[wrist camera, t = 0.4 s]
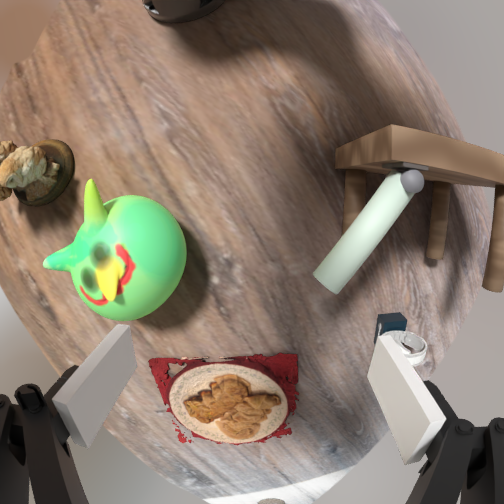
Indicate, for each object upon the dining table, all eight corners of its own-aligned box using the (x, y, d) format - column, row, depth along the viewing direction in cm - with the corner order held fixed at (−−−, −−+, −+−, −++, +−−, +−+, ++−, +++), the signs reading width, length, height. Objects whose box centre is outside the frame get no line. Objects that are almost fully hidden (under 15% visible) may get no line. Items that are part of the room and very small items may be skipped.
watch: (367, 315, 45) (391, 349, 35) (408, 311, 45) (438, 341, 34) (363, 343, 47) (383, 381, 36) (403, 339, 46) (429, 372, 36)
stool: (335, 148, 39) (391, 124, 20) (445, 165, 39) (531, 166, 19) (330, 249, 43) (377, 300, 24) (438, 253, 42) (515, 294, 23)
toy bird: (149, 317, 47) (111, 363, 33) (81, 249, 45) (27, 273, 30) (218, 242, 43) (196, 271, 29) (139, 167, 41) (88, 163, 27)
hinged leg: (388, 162, 25) (409, 160, 21) (409, 183, 26) (431, 184, 21) (309, 267, 28) (317, 282, 24) (332, 284, 28) (342, 301, 24)
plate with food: (150, 353, 50) (143, 363, 46) (296, 349, 47) (298, 361, 44) (181, 437, 56) (177, 448, 52) (299, 437, 53) (299, 449, 50)
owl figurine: (18, 216, 44) (-44, 232, 27) (10, 161, 41) (-51, 164, 25) (80, 190, 42) (9, 199, 26) (71, 126, 40) (2, 113, 23)
